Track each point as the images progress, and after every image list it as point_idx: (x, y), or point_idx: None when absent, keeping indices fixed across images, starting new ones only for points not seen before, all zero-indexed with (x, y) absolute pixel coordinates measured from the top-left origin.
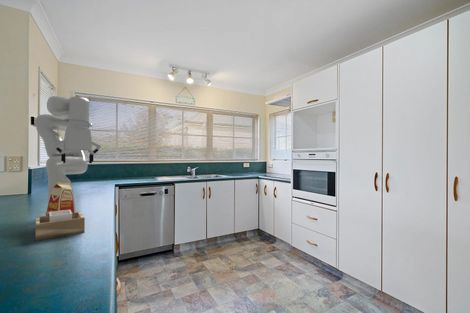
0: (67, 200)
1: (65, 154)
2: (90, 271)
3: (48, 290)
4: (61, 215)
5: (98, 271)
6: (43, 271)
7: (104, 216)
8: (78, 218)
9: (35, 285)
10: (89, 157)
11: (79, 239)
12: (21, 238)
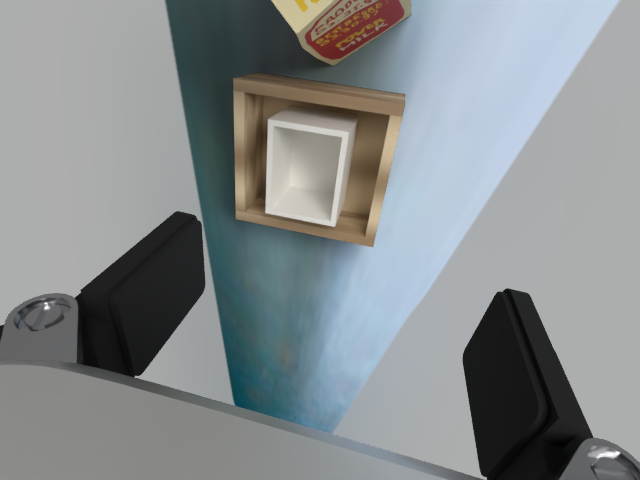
0: (354, 14)
1: (134, 376)
2: (316, 410)
3: (268, 410)
4: (300, 219)
5: (324, 417)
6: (266, 366)
7: None
8: (353, 240)
9: (257, 391)
10: (508, 383)
11: (345, 272)
12: (223, 133)
